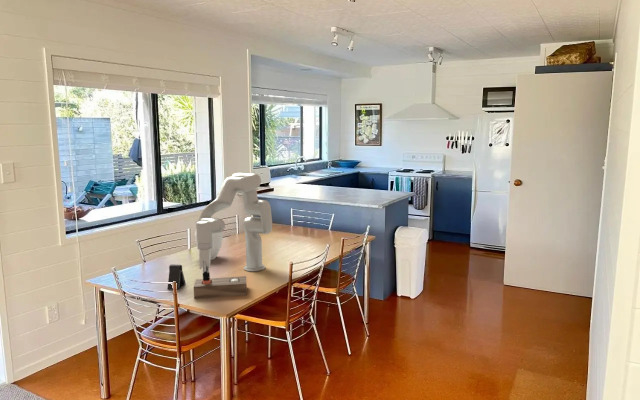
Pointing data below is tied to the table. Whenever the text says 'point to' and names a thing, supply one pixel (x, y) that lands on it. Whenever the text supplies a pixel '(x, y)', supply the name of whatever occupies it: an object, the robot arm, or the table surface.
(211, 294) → the plug block
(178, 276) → the phone stand
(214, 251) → the vase
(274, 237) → the table surface
